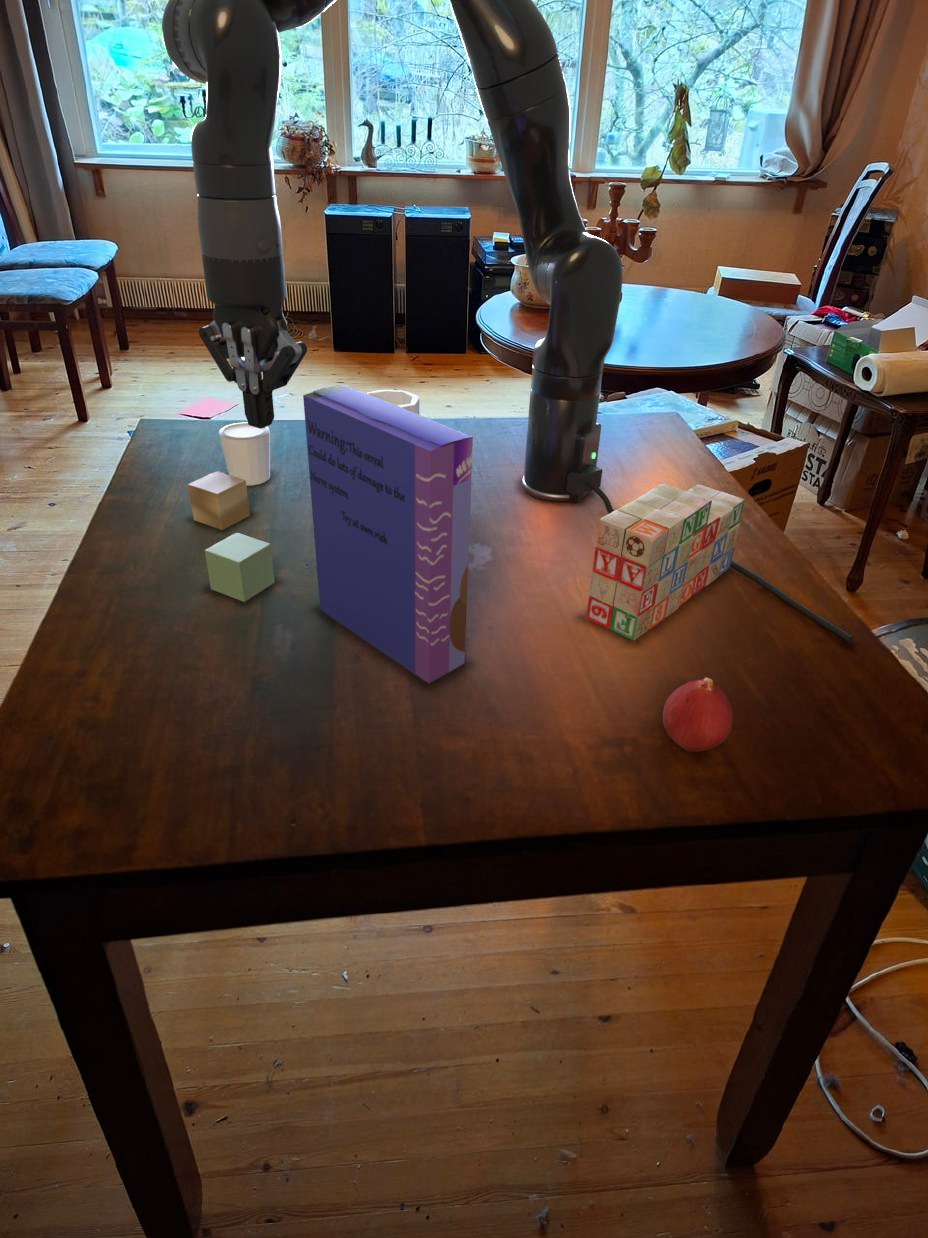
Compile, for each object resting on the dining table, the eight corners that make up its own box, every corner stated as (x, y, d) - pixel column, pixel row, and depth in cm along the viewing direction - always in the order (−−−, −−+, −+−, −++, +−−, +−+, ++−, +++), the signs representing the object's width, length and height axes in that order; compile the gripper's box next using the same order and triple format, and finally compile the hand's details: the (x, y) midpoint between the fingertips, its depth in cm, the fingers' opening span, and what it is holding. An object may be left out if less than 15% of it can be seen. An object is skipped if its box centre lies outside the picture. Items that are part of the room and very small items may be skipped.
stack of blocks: (684, 551, 103) (703, 458, 97) (730, 569, 100) (753, 474, 93) (584, 619, 90) (598, 516, 83) (634, 642, 87) (652, 538, 80)
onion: (648, 728, 75) (663, 657, 71) (710, 726, 76) (728, 655, 71) (667, 773, 71) (683, 700, 66) (733, 771, 71) (753, 698, 67)
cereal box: (464, 665, 82) (473, 434, 69) (428, 685, 80) (430, 448, 66) (355, 595, 93) (344, 382, 79) (320, 610, 90) (302, 392, 76)
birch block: (250, 515, 108) (245, 479, 105) (222, 530, 104) (217, 493, 102) (221, 505, 110) (216, 470, 107) (193, 520, 106) (187, 484, 104)
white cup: (280, 469, 120) (275, 422, 117) (266, 489, 115) (261, 440, 111) (234, 466, 121) (228, 419, 117) (218, 485, 115) (211, 437, 111)
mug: (358, 454, 126) (355, 390, 120) (414, 450, 128) (414, 387, 122) (370, 487, 116) (367, 419, 111) (430, 483, 118) (431, 416, 113)
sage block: (275, 582, 94) (270, 543, 92) (244, 602, 91) (239, 562, 88) (241, 570, 96) (236, 532, 94) (210, 589, 93) (204, 550, 90)
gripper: (322, 252, 78) (332, 428, 88) (220, 235, 84) (240, 402, 93) (267, 263, 73) (283, 450, 82) (162, 244, 78) (189, 421, 88)
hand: (260, 424), depth 88 cm, fingers closed
